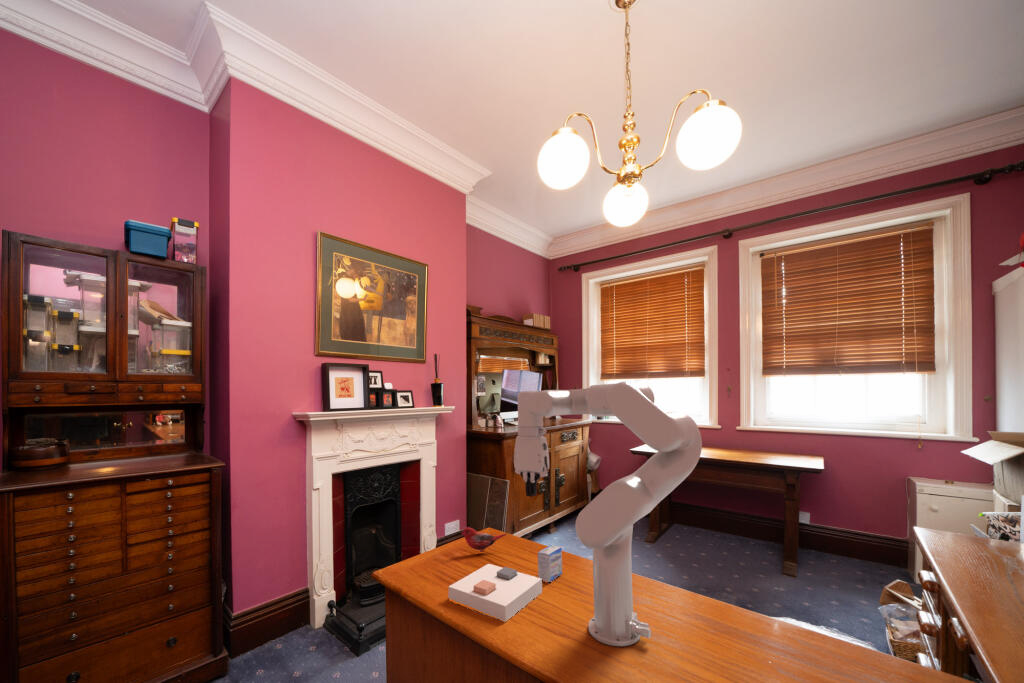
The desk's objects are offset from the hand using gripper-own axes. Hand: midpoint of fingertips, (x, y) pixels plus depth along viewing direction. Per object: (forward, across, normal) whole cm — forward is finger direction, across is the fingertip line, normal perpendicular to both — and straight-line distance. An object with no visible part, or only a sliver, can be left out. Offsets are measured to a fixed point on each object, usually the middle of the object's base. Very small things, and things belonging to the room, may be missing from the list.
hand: (531, 495), depth 122 cm
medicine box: (+29, +3, -16) cm, 34 cm away
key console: (+29, +10, +4) cm, 31 cm away
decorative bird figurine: (+29, +33, -20) cm, 48 cm away
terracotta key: (+27, +10, +9) cm, 30 cm away
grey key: (+27, +10, -2) cm, 29 cm away
